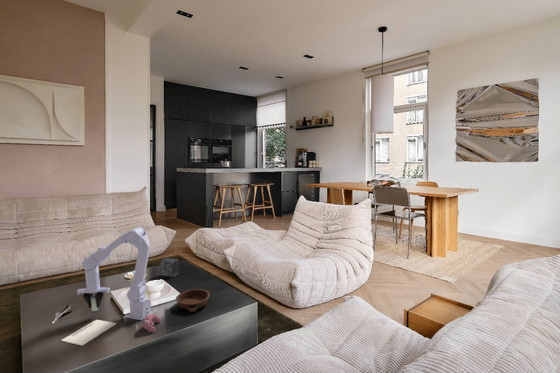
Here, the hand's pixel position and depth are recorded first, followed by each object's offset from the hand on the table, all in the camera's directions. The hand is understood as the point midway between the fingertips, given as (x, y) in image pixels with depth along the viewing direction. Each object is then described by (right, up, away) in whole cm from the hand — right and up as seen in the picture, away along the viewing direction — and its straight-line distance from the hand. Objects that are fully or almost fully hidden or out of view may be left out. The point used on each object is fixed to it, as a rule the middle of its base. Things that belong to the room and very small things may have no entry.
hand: (94, 306), depth 156 cm
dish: (+45, -4, +13) cm, 47 cm away
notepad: (+5, -7, -13) cm, 15 cm away
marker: (0, -2, 0) cm, 2 cm away
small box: (+18, 0, +55) cm, 58 cm away
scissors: (-19, -6, +5) cm, 21 cm away
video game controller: (+32, -6, -10) cm, 34 cm away
